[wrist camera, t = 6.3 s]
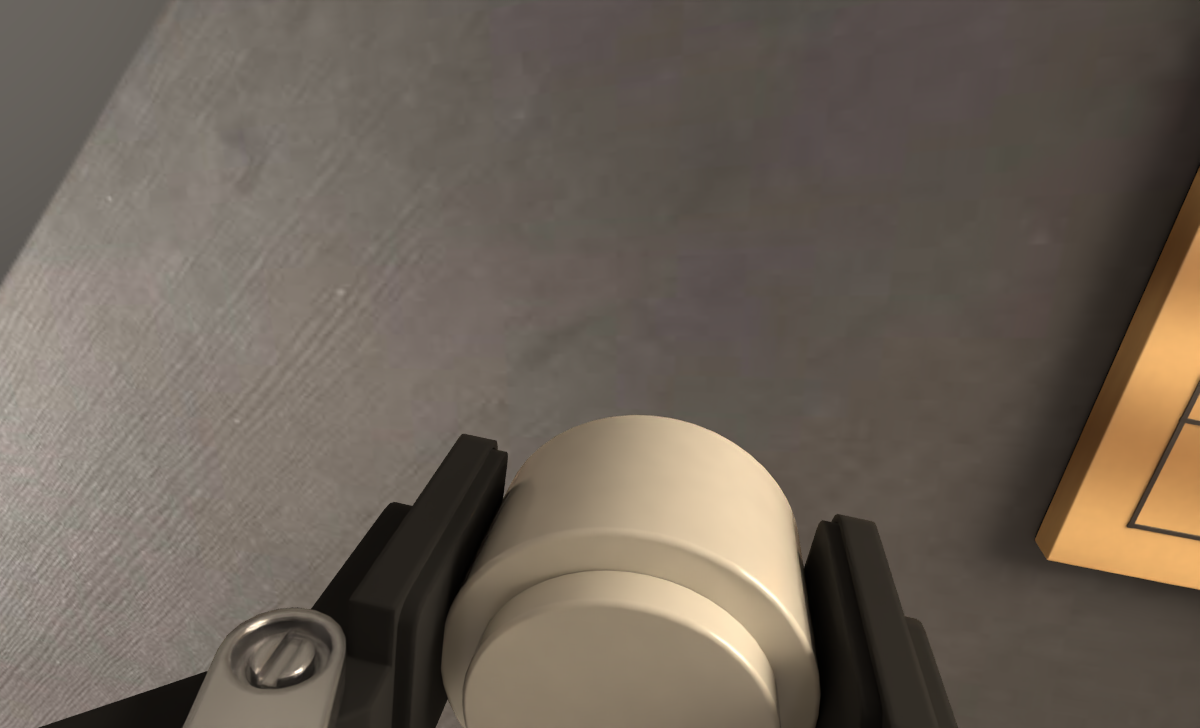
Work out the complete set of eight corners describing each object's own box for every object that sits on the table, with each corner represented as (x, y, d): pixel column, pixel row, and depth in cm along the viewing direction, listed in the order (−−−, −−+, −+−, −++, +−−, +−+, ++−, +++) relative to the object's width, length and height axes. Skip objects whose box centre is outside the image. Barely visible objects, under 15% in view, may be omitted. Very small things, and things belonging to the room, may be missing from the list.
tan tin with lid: (517, 383, 11) (432, 521, 8) (836, 449, 11) (884, 622, 8) (488, 626, 13) (411, 816, 10) (758, 690, 13) (769, 909, 10)
